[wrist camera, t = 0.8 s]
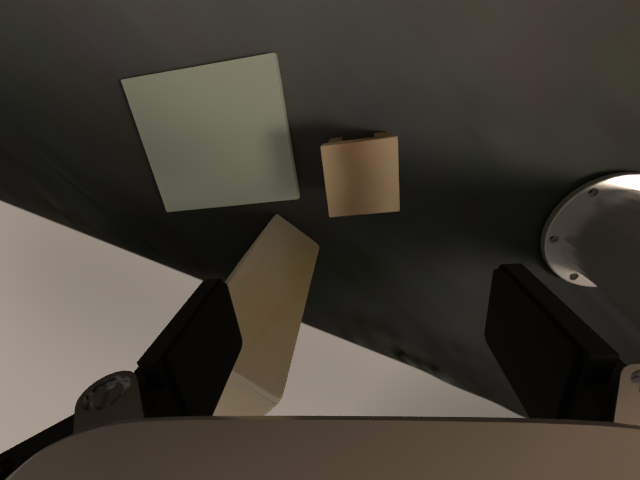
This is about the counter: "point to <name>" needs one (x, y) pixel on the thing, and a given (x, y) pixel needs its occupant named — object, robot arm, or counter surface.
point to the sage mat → (216, 133)
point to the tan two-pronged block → (361, 175)
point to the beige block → (267, 316)
